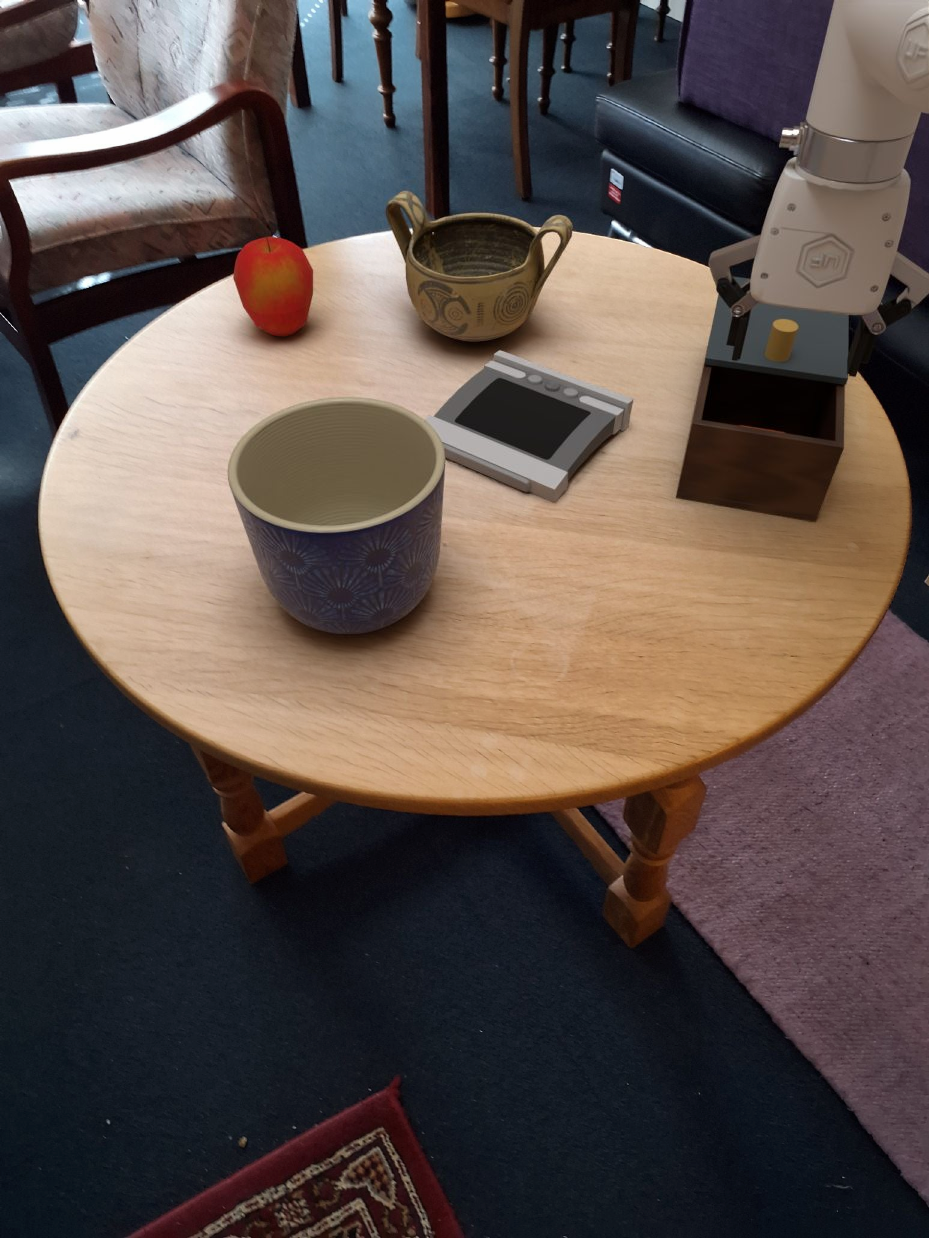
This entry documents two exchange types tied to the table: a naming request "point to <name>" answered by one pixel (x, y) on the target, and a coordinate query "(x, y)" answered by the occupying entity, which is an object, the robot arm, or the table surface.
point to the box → (763, 442)
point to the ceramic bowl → (473, 267)
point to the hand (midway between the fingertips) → (793, 360)
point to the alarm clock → (528, 424)
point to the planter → (342, 509)
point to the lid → (784, 342)
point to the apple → (274, 284)
